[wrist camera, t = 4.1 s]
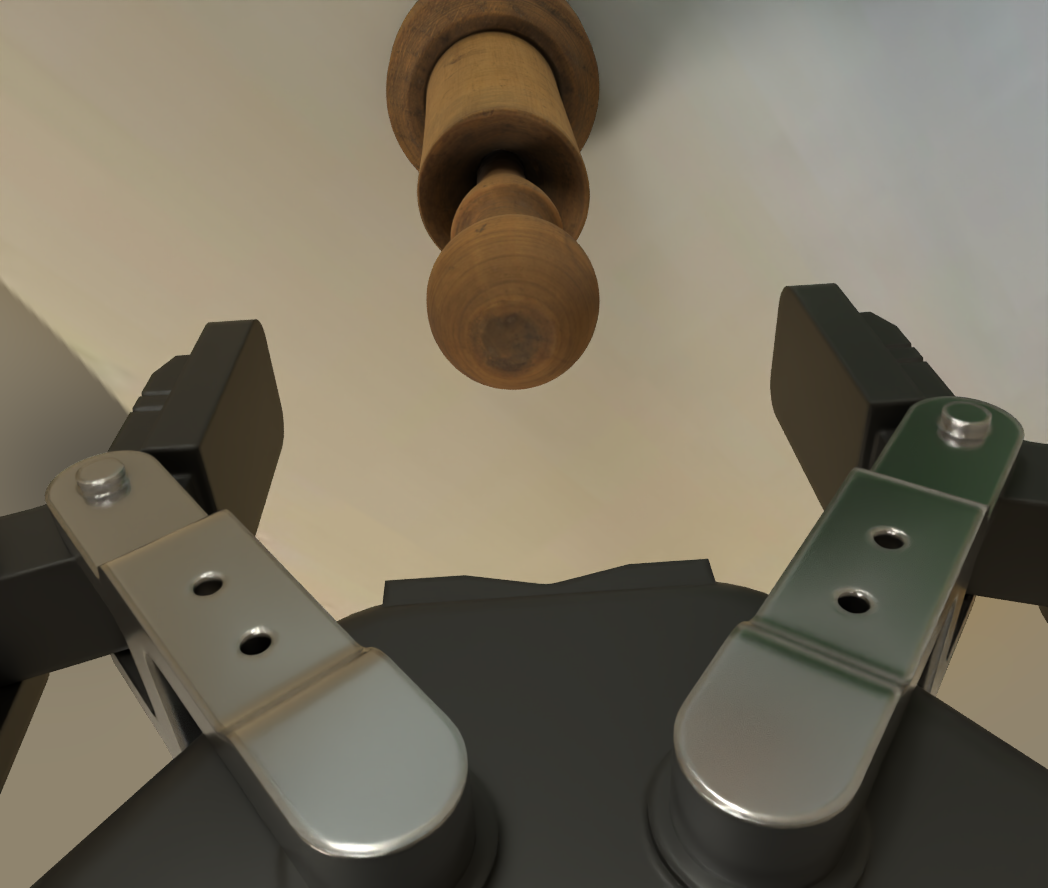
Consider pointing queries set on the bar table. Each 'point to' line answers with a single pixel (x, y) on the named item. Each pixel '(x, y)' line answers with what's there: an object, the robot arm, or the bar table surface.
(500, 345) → the brown knobbed turned figurine
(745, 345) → the bar table surface
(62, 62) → the bar table surface
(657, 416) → the bar table surface
